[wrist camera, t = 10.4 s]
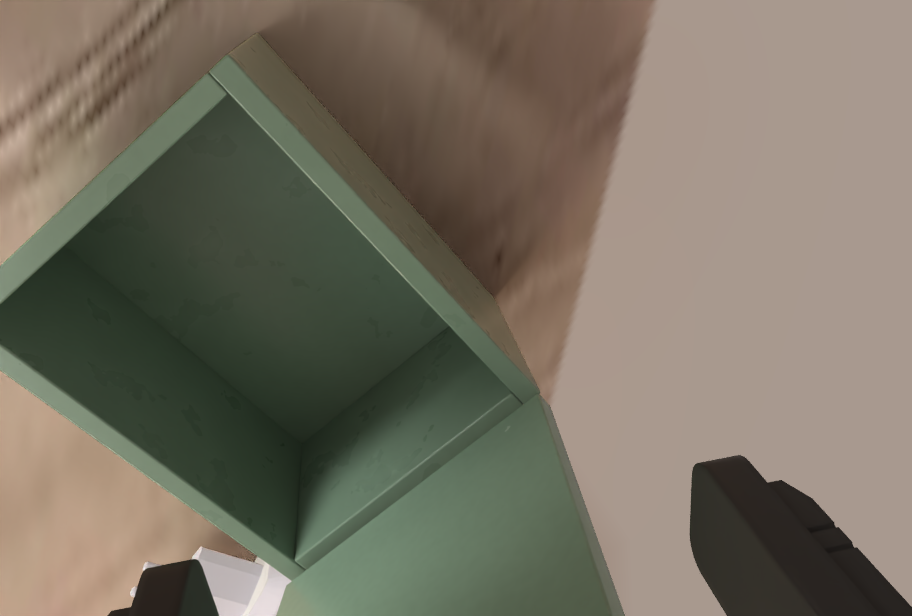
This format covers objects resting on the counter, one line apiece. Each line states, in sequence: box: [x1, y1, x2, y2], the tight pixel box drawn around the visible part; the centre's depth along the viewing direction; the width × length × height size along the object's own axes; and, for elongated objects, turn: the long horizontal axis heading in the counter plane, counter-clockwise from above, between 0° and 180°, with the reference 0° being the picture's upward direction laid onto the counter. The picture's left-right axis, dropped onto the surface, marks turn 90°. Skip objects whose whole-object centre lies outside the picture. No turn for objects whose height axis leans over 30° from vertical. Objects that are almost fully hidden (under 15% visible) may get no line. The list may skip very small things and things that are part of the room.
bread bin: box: [0, 33, 540, 581], centre depth 29 cm, size 16×13×9 cm
